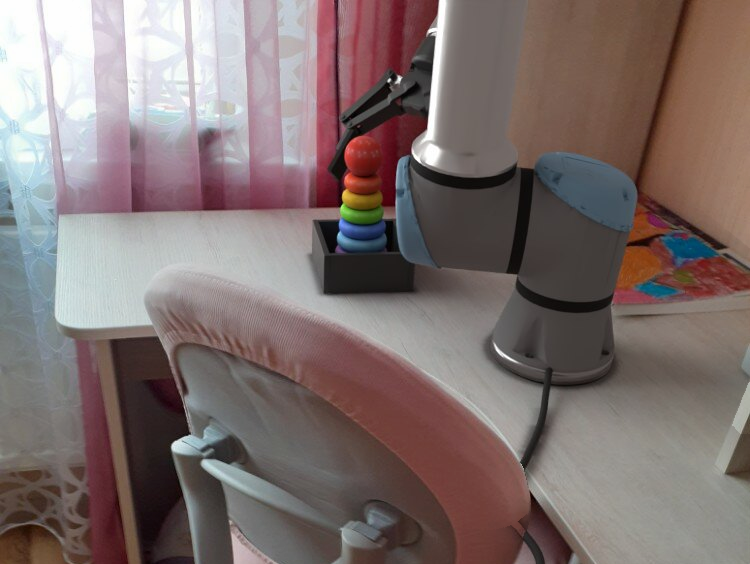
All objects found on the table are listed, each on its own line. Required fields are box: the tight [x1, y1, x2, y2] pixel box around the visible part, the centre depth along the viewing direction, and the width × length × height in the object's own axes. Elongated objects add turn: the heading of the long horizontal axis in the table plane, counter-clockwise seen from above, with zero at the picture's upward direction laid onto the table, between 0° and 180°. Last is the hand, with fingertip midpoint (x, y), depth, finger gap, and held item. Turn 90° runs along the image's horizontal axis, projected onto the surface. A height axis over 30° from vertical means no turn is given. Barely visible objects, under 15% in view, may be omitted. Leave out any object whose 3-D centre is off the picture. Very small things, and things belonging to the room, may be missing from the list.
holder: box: [311, 218, 416, 295], centre depth 120 cm, size 13×13×6 cm
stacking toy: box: [335, 135, 387, 253], centre depth 116 cm, size 8×8×19 cm
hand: (369, 189), depth 115 cm, fingers open, 13 cm apart
